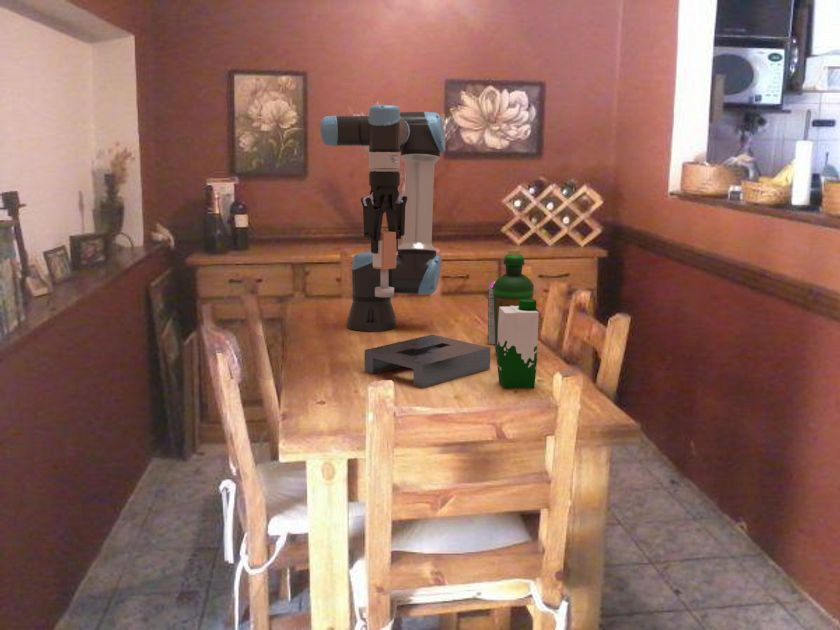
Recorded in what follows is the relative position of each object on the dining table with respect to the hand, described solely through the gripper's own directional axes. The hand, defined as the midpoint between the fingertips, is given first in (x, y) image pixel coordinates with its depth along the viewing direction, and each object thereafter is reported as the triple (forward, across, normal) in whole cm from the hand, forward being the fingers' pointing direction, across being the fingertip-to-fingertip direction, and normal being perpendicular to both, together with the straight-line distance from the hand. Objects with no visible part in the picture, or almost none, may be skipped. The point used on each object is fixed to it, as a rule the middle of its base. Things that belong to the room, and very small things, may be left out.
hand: (384, 265), depth 209 cm
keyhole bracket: (+25, +4, -12) cm, 28 cm away
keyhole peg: (+8, 0, 0) cm, 8 cm away
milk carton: (+26, +10, -34) cm, 44 cm away
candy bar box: (+25, +41, -3) cm, 48 cm away
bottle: (+25, +31, -16) cm, 43 cm away
